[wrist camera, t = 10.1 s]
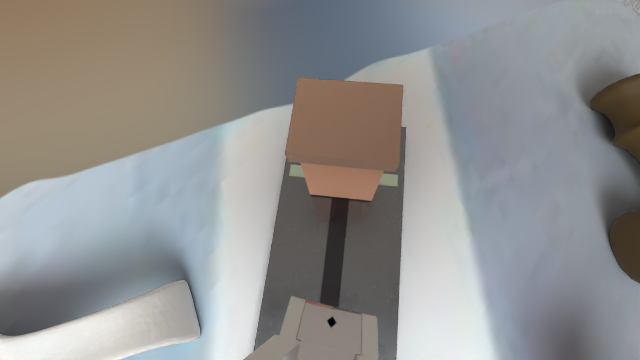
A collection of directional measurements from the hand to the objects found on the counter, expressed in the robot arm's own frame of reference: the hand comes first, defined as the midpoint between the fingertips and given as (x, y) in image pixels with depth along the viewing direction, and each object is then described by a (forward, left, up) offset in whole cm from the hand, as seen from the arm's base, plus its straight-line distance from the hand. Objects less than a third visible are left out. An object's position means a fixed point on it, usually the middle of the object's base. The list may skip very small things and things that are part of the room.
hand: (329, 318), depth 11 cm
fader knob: (-5, -8, -13) cm, 16 cm away
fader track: (-1, -2, -15) cm, 15 cm away
